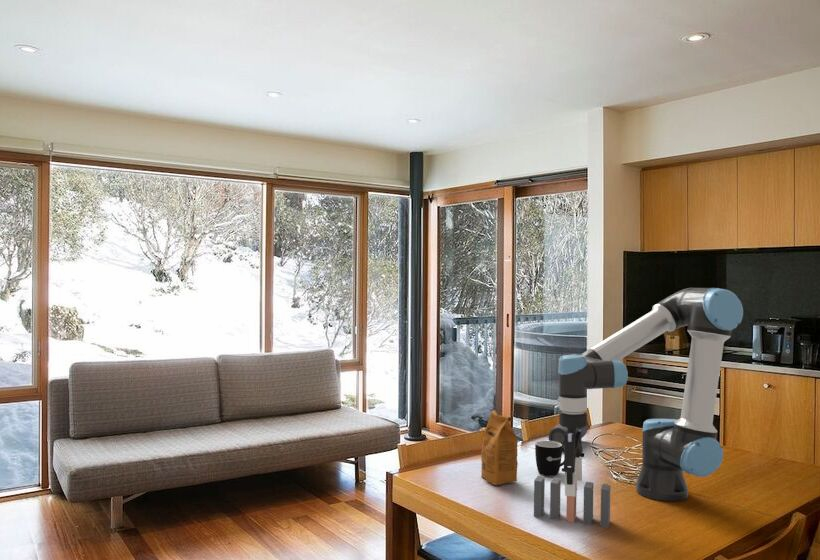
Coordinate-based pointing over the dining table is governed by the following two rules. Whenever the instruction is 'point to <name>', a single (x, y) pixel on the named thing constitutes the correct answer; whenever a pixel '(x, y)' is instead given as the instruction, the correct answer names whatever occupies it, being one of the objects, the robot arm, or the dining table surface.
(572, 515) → the domino
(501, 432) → the coffee package
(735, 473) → the dining table surface
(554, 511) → the domino
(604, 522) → the domino
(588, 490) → the domino
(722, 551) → the dining table surface
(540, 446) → the mug
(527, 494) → the dining table surface
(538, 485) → the domino
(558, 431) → the bluetooth speaker
